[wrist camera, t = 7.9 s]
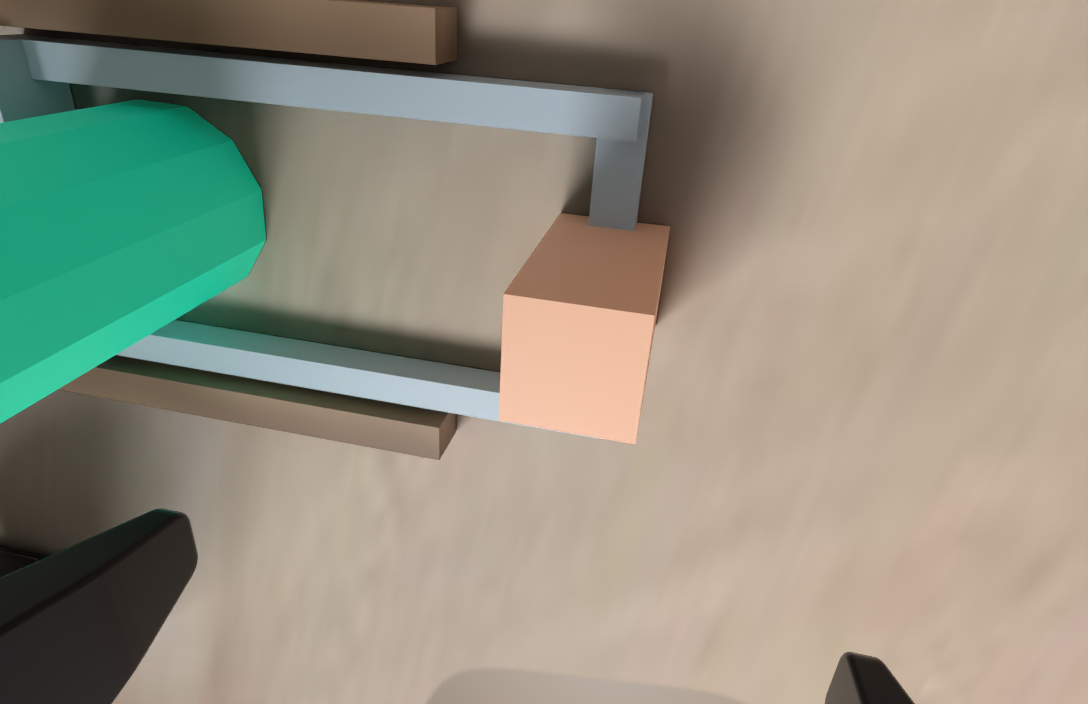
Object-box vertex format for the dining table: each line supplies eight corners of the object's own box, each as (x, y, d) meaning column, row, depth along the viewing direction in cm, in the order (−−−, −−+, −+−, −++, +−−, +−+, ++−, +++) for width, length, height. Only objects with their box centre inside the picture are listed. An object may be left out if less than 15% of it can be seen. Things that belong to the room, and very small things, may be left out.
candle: (282, 148, 20) (-195, 312, 9) (252, 319, 23) (-136, 591, 12) (92, 64, 20) (-589, 135, 9) (87, 246, 23) (-437, 453, 12)
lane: (455, 432, 23) (439, 460, 22) (-157, 323, 27) (-205, 341, 26) (457, 7, 17) (435, 8, 16) (-327, -53, 21) (-401, -57, 20)
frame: (640, 423, 21) (617, 560, 16) (100, 332, 24) (-67, 423, 19) (690, 96, 17) (681, 138, 12) (22, 34, 20) (-223, 46, 15)
